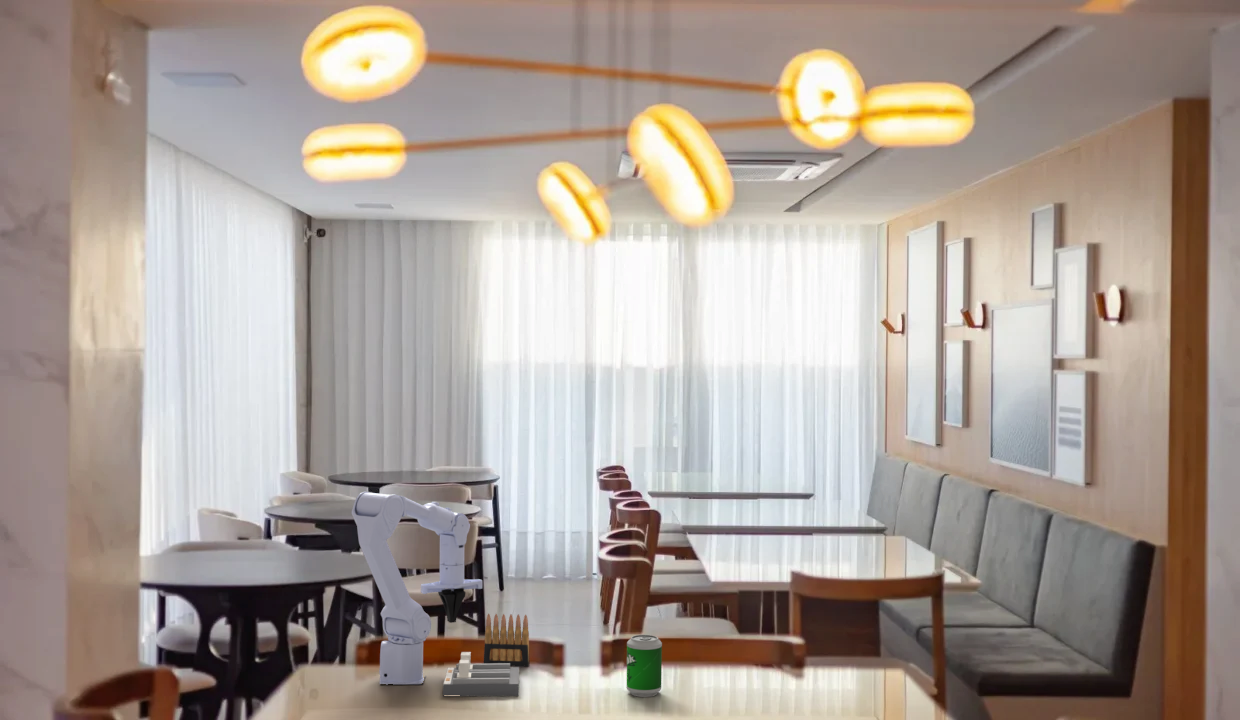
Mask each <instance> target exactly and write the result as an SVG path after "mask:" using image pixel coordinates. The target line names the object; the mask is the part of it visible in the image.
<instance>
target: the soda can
mask: <svg viewBox="0 0 1240 720" xmlns="http://www.w3.org/2000/svg"><path fill="white" fill-rule="evenodd" d="M662 654H663V642H662V641H661V639H659V637H658V636H656V635H652V634H636V635H632V636H631V637H630V639H628V641H627V642H626V689H627V691H628V692H629V693H630V695H632V696H634V697H639V698H651V697H654V696H657V694H658V693H659V692H660V691H661V690H662V673H663V672H662V668H663V667H662V665H663V660H662V659H663V656H662Z"/></svg>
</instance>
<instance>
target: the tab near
mask: <svg viewBox="0 0 1240 720" xmlns="http://www.w3.org/2000/svg"><path fill="white" fill-rule="evenodd" d="M458 664H459V673H457V678H471V673H469V660H461V659H460V660H459V662H458Z"/></svg>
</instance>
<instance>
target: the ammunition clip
mask: <svg viewBox="0 0 1240 720" xmlns="http://www.w3.org/2000/svg"><path fill="white" fill-rule="evenodd" d="M490 615H491V614H490V613H487V615H486V621H485V631H484V648H483V662H482V664H497V663H510V667H519V668H522V667H525V668H526V667H529V666H530V663H531V662H530V633H529V620H528V616H527V614H524V617H523V619H522V620H523V621H522V625H521V616H520V614H517V616H516V619H515V628H514V618H513V614H511V613H510V614H509V617H508V626H507V621H506V620H507V618H506V615H505V613H503V614H502V616H501V621H500V626H499V617H498V614H497V613H495V615H494V617H493V625H492V619H491V616H490ZM499 627H500V628H499ZM514 629H515V630H514Z"/></svg>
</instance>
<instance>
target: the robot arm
mask: <svg viewBox="0 0 1240 720" xmlns="http://www.w3.org/2000/svg"><path fill="white" fill-rule="evenodd" d="M452 510H453V509H452V508H451V507H443V506H440V503H439V502H438V501H431V502H427V503H425V504H421V503H418V502H417V501H414V500H412V499H410V498H408V497H406V496H404V495H398V494H394V493H392V494H388V493H387V494H385V493H375V492H369V491H362V492H360V493H358V495H357V497H356V498H355V500H354V502H353V506H352V509H351V515H352V517H353V520H354V523H355V524H356V526H357V527H356V528H357V537H358V544H359V546H360V549H361V551H362V555H363V556H364V558H365V561H366V563H367V565H368V566H367V567H369V570H370V572H371V575H372V577H373V579H374V581H375V584H376V586H377V589H378V590H379V593H380V596H381V598H382V599H383V602H384V607H383V608H382V610H381V612H380V616H381V619H382V629H383V632H384V633H385V635H387V640H382V641H381V643H380V650H379V651H380V653H379V673H378V674H379V683H378V684H379V685H380V684H386V685H387V686H388V684H393V685H422V684H421V683H423V684H424V682H423V681H425V679H424V678H423V673H424V642H425V641H427V638H428V637H429V635H430V633H431V629H432V619H431V617H430V615H429V614H428V613H426V612H425V611H424V609H423V607H422V605H421V604H420V603H419V602H417V601H415V600H414V599H413V598H411V596H410V594H409V591H408V589H407V586H406V584H405V582H404V579H403V577H402V574H401V573H400V572H401V571H400V570H399V567H398V566H397V563H396V560H395V558H394V556H393V553H392V551H391V548H390V546H389V544H388V539H390V538H391V537H392V536H393V534H394V533H395V531H396V529H397V527H398V525H399V523H400V521H401V519H402V518H404V517H408V518H409V517H410V518H412V519H415V520H417V523H418V525H419V526H420V527H422V528H424V529H427V530H430V531H433V532H435V534H436V535H437V536H439V581H434V582H429V583H421V584H420V593H421V594H423V595H426V594H429V593H430V594H431V593H438V594H437V595H438V596H439V598H440V600H441V602H442V604H443V607H444V610H445V614H446V620H447V622H448V623H451V624H452V623H457V617H458V613H459V612H460V611H459V610H460V608H461V605H462V602H464V601H463V600H464V599H465V598H466V594H467V593H466V591H465V590H473V589H474V590H475V589H478V590H481V589H483V580H482V579H479V578H476V579H473V578H472V579H465V545H466V543H467V541H468V540H467V536H468V534H469V532H470V528H471V523H470V521H469V518H468V517H467V516H466V514H464V513H462V512H454V511H452ZM386 685H385V686H386Z"/></svg>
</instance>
